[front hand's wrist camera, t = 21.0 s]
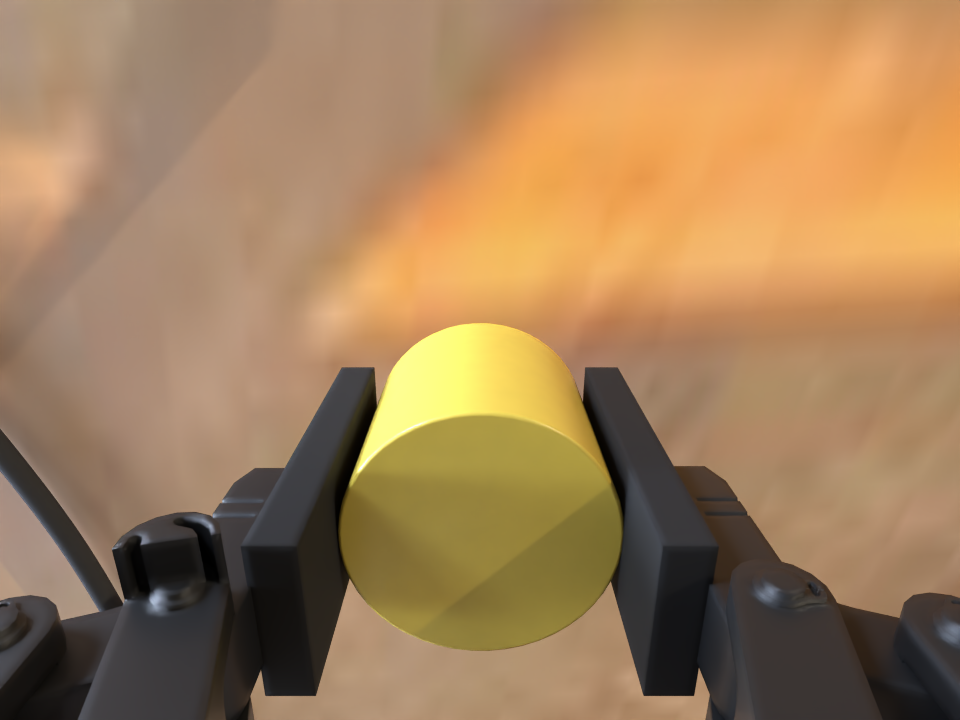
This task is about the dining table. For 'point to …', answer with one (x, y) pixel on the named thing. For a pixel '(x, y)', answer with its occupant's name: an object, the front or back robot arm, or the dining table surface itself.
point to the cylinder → (480, 495)
